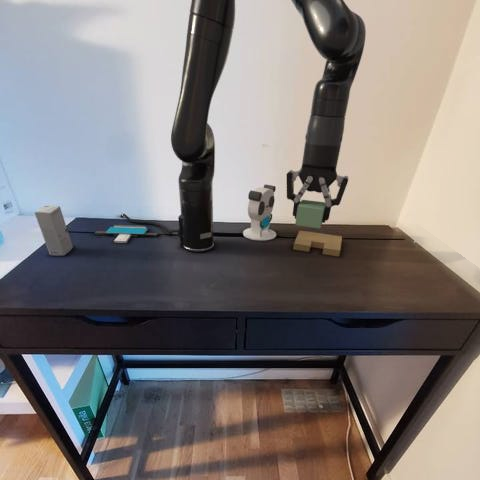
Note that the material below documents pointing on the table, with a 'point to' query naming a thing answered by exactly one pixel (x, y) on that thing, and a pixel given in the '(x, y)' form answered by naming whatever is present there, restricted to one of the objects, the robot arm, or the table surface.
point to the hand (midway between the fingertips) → (309, 219)
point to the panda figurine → (261, 213)
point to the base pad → (318, 242)
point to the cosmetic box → (54, 230)
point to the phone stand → (126, 232)
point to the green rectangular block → (310, 213)
